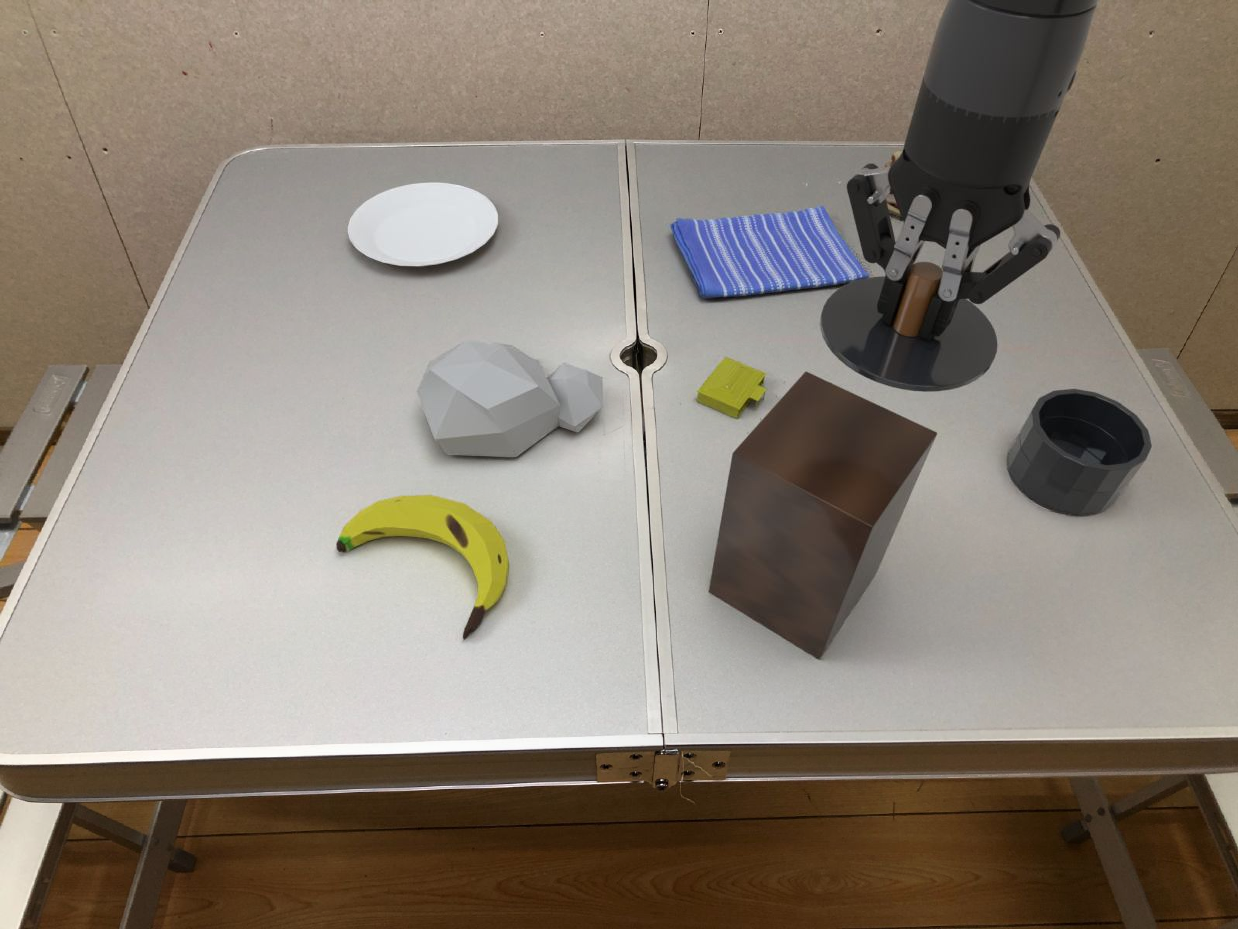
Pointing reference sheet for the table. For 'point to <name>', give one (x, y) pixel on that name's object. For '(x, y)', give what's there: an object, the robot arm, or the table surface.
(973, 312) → the lid
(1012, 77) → the robot arm
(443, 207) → the plate
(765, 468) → the brown rectangular block
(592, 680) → the table surface
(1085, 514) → the pot
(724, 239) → the dish towel
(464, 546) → the banana
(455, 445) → the rock
